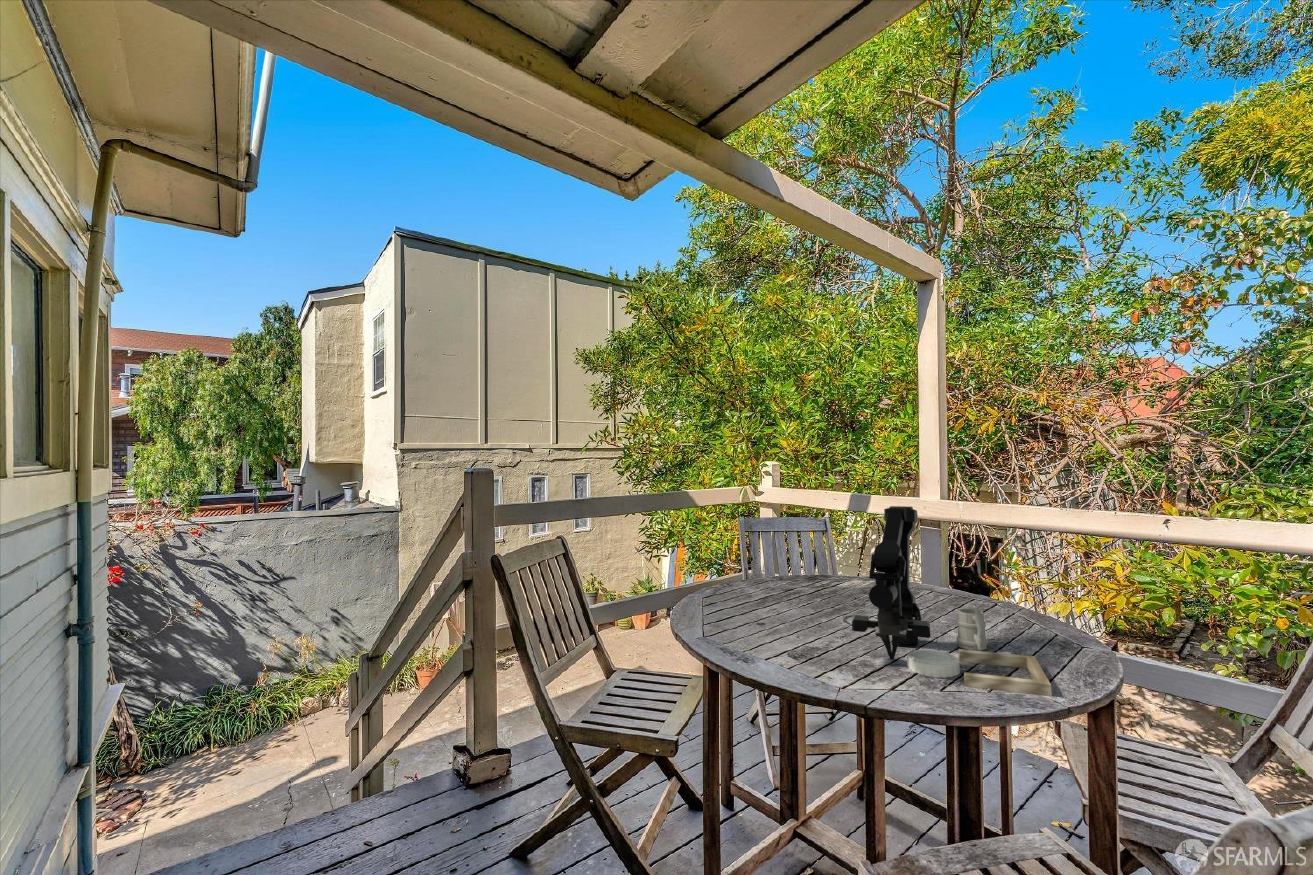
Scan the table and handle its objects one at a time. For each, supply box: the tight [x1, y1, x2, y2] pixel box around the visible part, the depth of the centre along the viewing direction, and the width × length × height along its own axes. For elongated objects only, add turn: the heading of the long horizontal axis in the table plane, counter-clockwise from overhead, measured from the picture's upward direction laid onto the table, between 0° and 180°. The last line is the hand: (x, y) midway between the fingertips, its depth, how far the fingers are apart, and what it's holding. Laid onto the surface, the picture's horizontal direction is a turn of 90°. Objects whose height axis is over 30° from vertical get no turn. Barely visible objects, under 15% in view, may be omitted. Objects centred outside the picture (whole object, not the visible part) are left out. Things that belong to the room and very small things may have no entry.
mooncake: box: [906, 648, 961, 679], centre depth 146 cm, size 12×12×4 cm
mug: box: [956, 607, 989, 651], centre depth 159 cm, size 8×12×12 cm, turn 171°
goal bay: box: [958, 648, 1052, 697], centre depth 140 cm, size 17×19×2 cm
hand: (891, 659), depth 150 cm, fingers closed
